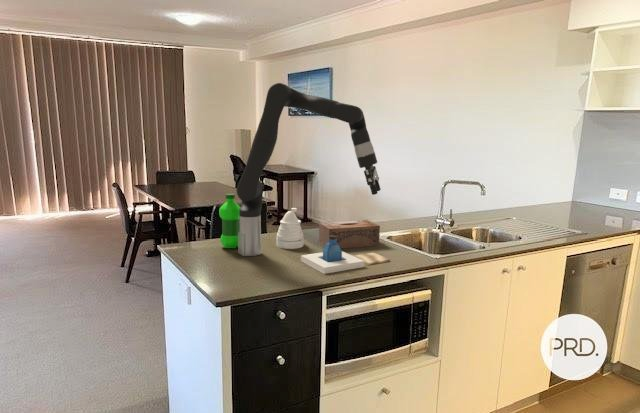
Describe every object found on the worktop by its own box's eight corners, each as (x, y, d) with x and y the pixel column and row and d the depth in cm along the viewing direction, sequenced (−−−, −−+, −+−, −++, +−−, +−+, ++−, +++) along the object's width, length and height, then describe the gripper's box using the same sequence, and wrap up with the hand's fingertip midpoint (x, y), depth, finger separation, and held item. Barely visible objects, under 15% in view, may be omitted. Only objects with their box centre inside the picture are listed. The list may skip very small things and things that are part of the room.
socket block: (324, 273, 171) (324, 267, 170) (300, 261, 187) (301, 255, 186) (364, 266, 180) (364, 261, 180) (339, 255, 196) (339, 249, 196)
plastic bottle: (230, 251, 200) (229, 196, 196) (215, 247, 206) (213, 194, 202) (247, 247, 208) (246, 194, 204) (231, 243, 214) (230, 192, 210)
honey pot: (305, 242, 218) (305, 206, 215) (301, 249, 205) (301, 211, 202) (279, 241, 219) (279, 205, 216) (274, 248, 207) (273, 210, 204)
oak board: (367, 265, 183) (367, 263, 183) (350, 257, 193) (350, 255, 193) (390, 261, 189) (390, 259, 189) (372, 254, 199) (373, 252, 199)
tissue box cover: (366, 238, 228) (367, 219, 226) (379, 245, 215) (379, 225, 213) (319, 242, 220) (319, 222, 218) (328, 249, 206) (329, 228, 205)
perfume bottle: (326, 266, 180) (327, 238, 178) (322, 262, 186) (323, 234, 184) (341, 265, 181) (342, 237, 179) (336, 261, 187) (337, 233, 185)
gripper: (360, 155, 188) (370, 192, 190) (353, 158, 175) (364, 197, 176) (377, 150, 186) (387, 187, 187) (371, 153, 172) (383, 192, 174)
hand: (376, 192), depth 182 cm, fingers open, 8 cm apart
